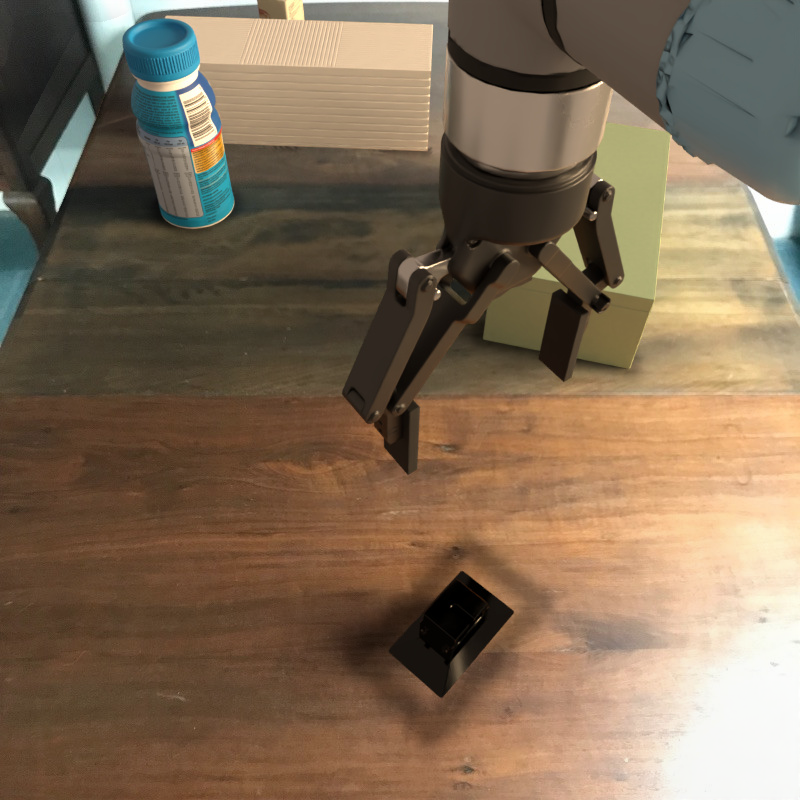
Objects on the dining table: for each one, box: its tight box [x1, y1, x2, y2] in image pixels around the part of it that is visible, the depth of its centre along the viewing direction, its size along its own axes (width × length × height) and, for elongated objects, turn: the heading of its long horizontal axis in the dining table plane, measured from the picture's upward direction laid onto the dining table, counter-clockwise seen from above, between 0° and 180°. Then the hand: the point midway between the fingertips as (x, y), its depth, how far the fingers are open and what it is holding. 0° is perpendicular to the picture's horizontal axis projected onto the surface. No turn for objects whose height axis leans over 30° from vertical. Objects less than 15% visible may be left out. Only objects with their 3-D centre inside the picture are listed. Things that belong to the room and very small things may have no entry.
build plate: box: [387, 570, 515, 699], centre depth 56 cm, size 12×7×5 cm, turn 138°
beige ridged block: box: [164, 15, 434, 152], centre depth 95 cm, size 32×11×11 cm, turn 87°
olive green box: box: [482, 121, 672, 370], centre depth 79 cm, size 14×26×12 cm, turn 165°
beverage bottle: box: [122, 17, 235, 230], centre depth 81 cm, size 8×8×20 cm
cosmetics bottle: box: [256, 0, 305, 20], centre depth 105 cm, size 5×4×10 cm
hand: (481, 411), depth 54 cm, fingers open, 13 cm apart
